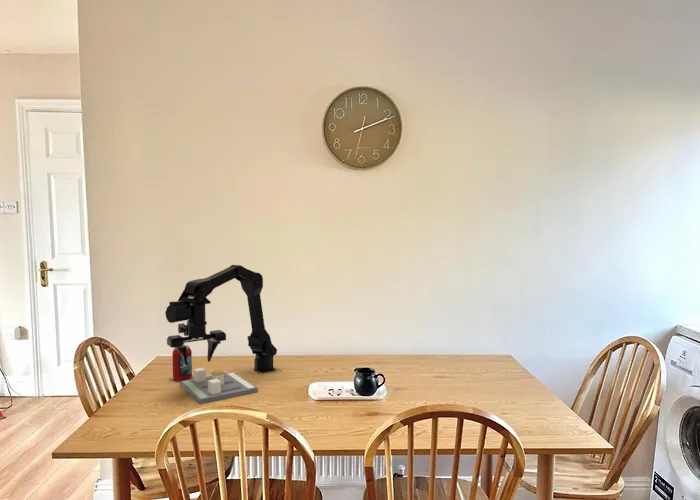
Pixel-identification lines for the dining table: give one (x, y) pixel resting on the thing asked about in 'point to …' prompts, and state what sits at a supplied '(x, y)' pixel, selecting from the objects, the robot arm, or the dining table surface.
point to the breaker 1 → (199, 375)
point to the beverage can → (182, 365)
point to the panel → (230, 389)
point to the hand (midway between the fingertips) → (197, 363)
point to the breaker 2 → (214, 386)
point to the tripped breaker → (218, 375)
